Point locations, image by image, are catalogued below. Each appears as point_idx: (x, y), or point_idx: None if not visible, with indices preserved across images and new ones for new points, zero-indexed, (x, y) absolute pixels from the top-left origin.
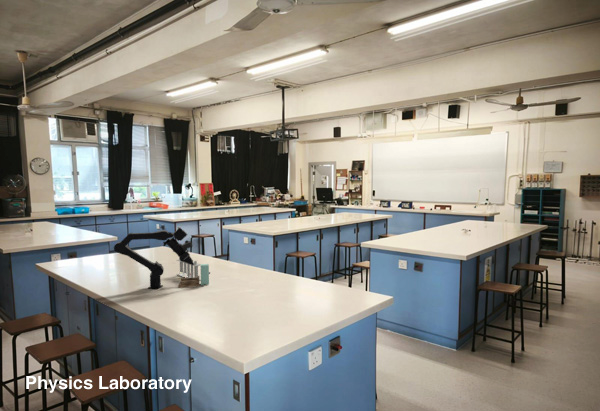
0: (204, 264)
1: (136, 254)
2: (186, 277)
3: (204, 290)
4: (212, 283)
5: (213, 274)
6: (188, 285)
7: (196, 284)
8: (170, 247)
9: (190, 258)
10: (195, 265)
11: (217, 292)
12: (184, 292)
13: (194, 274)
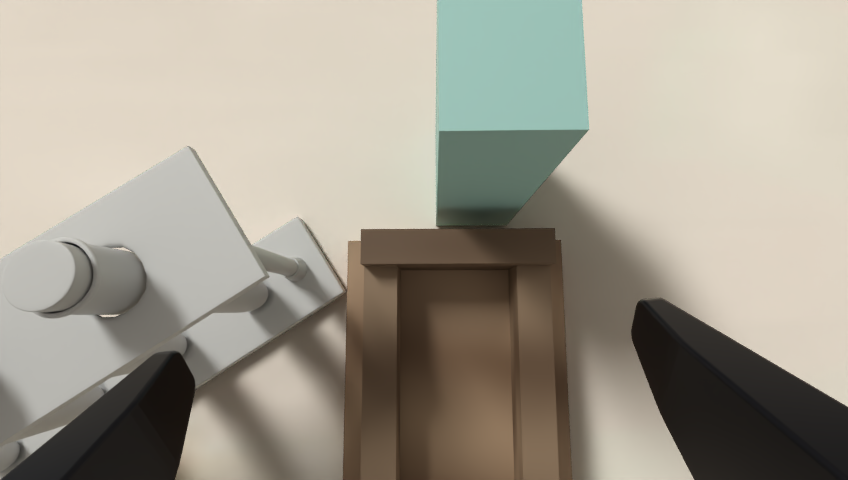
0: (468, 35)
1: None
2: None
3: (745, 178)
4: None
5: (40, 75)
6: (566, 380)
7: (559, 274)
8: None
9: (111, 460)
10: (248, 277)
11: (845, 39)
12: None
13: (231, 310)
